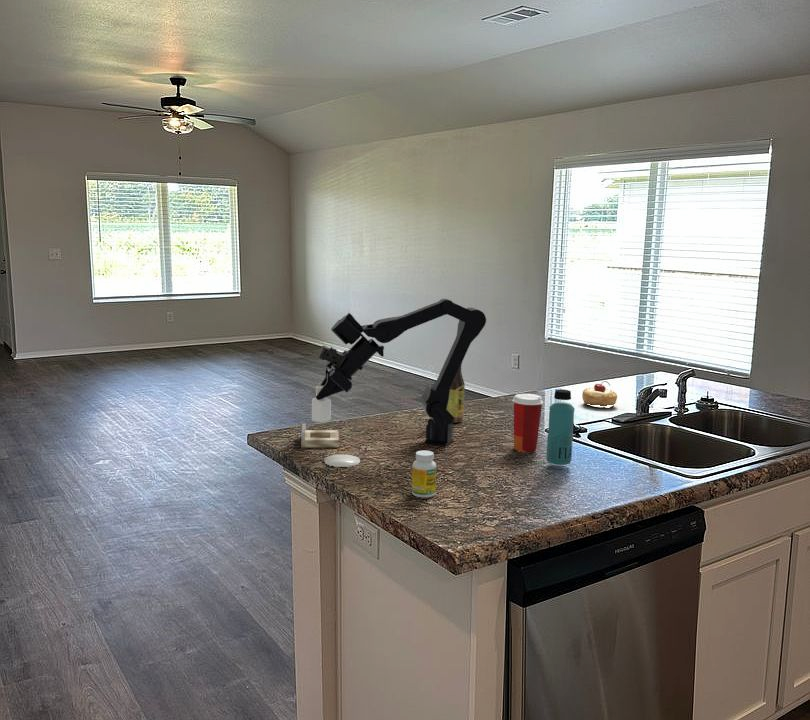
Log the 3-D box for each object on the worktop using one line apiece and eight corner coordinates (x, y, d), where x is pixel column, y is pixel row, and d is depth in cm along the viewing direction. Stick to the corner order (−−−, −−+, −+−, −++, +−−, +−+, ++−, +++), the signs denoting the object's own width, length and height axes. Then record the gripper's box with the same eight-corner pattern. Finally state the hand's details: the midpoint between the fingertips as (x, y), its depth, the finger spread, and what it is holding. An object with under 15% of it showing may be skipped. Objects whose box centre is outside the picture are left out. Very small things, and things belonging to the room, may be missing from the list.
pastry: (575, 402, 262) (577, 377, 260) (605, 401, 265) (607, 377, 263) (591, 410, 250) (593, 384, 249) (622, 409, 253) (625, 384, 252)
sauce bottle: (461, 424, 226) (464, 361, 222) (441, 422, 227) (444, 359, 224) (464, 419, 232) (467, 357, 229) (444, 417, 233) (447, 356, 230)
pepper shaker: (320, 418, 202) (320, 384, 200) (331, 420, 199) (332, 386, 198) (310, 420, 198) (311, 386, 197) (321, 423, 196) (322, 388, 195)
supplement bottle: (419, 488, 168) (421, 447, 166) (439, 493, 165) (441, 452, 164) (406, 494, 164) (408, 453, 162) (427, 500, 161) (429, 457, 159)
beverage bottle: (556, 472, 182) (561, 393, 179) (539, 464, 188) (544, 388, 185) (576, 469, 185) (582, 391, 182) (559, 461, 191) (564, 386, 188)
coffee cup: (543, 448, 203) (546, 395, 200) (535, 455, 196) (539, 401, 193) (514, 443, 206) (517, 391, 204) (505, 451, 199) (508, 397, 196)
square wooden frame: (337, 437, 208) (338, 423, 207) (338, 447, 198) (338, 432, 197) (302, 437, 207) (302, 423, 206) (301, 447, 197) (301, 432, 196)
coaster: (366, 460, 187) (366, 458, 187) (348, 469, 179) (348, 467, 179) (336, 454, 191) (336, 452, 191) (317, 463, 183) (317, 461, 183)
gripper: (333, 330, 205) (293, 370, 205) (339, 340, 187) (295, 383, 187) (361, 358, 207) (322, 397, 207) (369, 370, 189) (326, 413, 189)
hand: (316, 397), depth 198 cm, fingers closed on pepper shaker, 4 cm apart
